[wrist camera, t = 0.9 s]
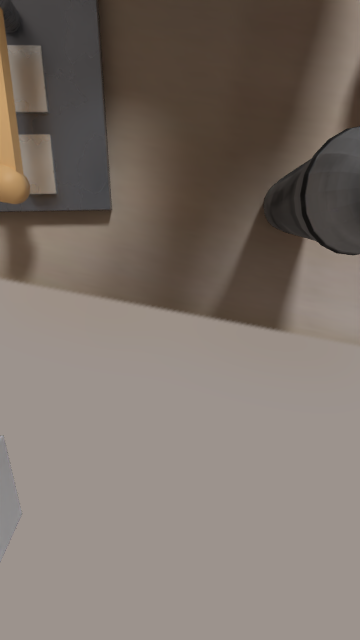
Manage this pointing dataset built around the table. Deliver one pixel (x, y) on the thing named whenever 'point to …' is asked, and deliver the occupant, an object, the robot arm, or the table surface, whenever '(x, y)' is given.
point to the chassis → (59, 103)
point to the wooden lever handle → (9, 134)
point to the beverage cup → (322, 196)
